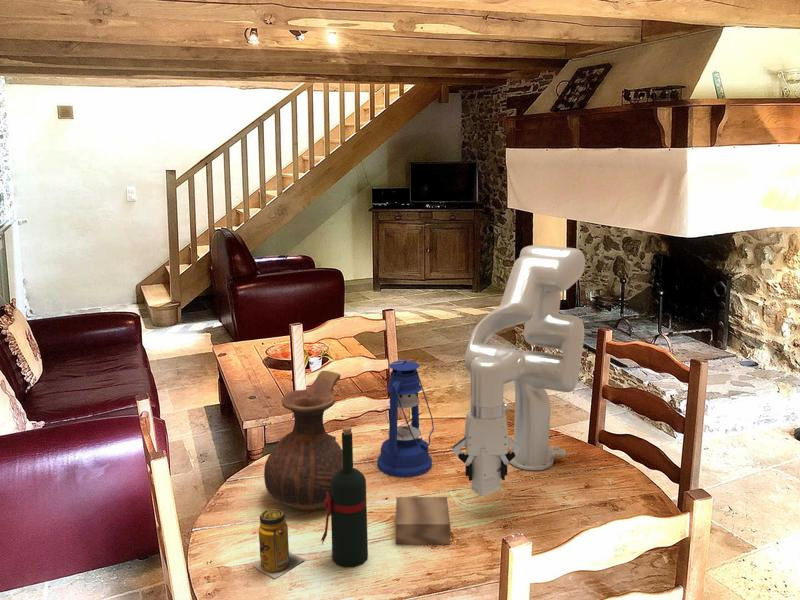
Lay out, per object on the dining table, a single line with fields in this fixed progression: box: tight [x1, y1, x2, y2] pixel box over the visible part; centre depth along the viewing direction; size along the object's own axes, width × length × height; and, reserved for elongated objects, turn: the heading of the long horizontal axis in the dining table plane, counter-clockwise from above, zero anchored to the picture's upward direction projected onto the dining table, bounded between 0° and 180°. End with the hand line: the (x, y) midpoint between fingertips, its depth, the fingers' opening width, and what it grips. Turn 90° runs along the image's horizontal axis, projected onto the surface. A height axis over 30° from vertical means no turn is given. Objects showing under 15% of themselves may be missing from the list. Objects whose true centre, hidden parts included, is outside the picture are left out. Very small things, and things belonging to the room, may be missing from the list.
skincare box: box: [470, 448, 502, 497], centre depth 170 cm, size 6×4×12 cm
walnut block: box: [395, 496, 451, 545], centre depth 165 cm, size 12×12×5 cm
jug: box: [263, 370, 343, 511], centre depth 176 cm, size 22×22×30 cm
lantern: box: [376, 359, 435, 478], centre depth 194 cm, size 17×15×30 cm
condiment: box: [252, 508, 306, 579], centre depth 151 cm, size 7×8×12 cm
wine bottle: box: [320, 425, 369, 568], centre depth 151 cm, size 8×10×30 cm
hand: (486, 477), depth 171 cm, fingers closed on skincare box, 7 cm apart
